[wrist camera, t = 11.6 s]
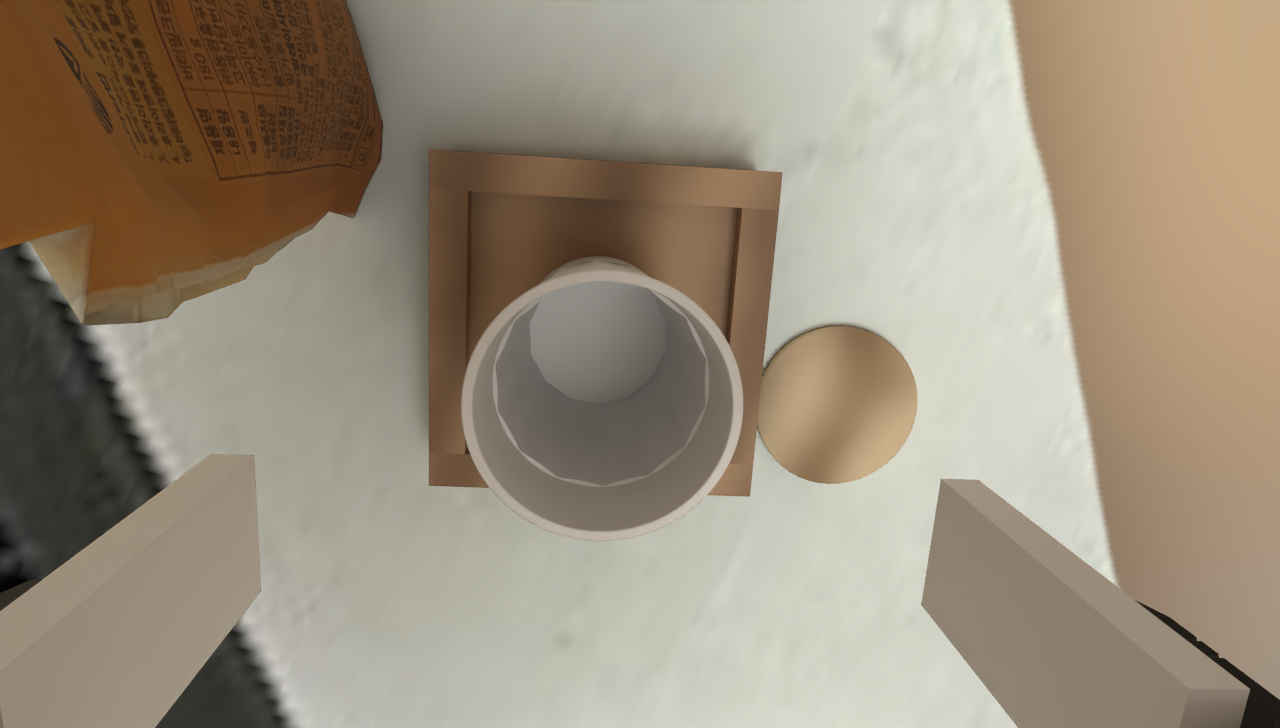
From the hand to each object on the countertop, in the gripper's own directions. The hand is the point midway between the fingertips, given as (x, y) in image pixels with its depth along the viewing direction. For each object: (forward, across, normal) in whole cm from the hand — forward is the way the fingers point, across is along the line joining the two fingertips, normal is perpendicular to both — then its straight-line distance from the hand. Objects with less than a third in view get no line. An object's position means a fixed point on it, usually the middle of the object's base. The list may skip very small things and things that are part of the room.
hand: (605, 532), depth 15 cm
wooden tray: (+24, 0, 0) cm, 24 cm away
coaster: (+23, +12, -4) cm, 27 cm away
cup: (+20, 0, 0) cm, 20 cm away
